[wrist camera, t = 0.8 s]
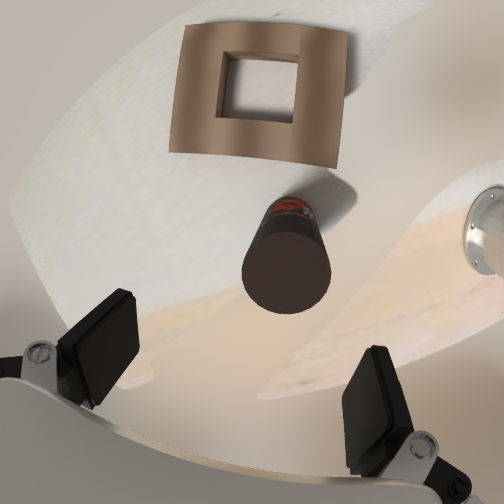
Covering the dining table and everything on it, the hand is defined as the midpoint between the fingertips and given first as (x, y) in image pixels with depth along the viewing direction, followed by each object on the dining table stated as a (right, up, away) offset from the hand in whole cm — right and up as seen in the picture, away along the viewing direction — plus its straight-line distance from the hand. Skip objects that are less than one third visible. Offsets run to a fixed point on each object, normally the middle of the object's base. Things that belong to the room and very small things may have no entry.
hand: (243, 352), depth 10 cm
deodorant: (+5, +7, +22) cm, 24 cm away
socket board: (+1, +22, +17) cm, 28 cm away
